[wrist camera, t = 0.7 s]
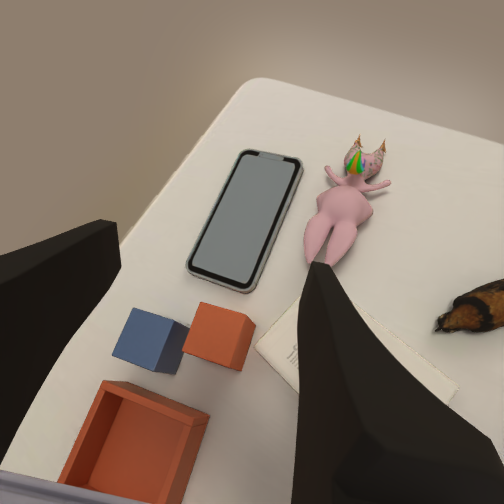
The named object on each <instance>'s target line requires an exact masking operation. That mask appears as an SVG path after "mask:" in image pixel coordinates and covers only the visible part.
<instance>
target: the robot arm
mask: <svg viewBox="0 0 504 504" xmlns="http://www.w3.org/2000/svg"><path fill="white" fill-rule="evenodd" d="M120 269H121V258H120V250H119V241H118V232H117V224H116V222H112V221H106V220H101V219H100V220H96V221H93V222H90V223H87V224H85V225H82V226H79V227H77V228H74V229H72V230H69V231H67V232H64V233H62V234H59V235H57V236H54V237H52V238H49V239H46V240H44V241H41V242H38V243H36V244H33V245H30V246H27V247H24V248H21V249H19V250H16V251H13V252H10V253H7V254H4V255H0V465H1V462H2V460H3V458H4V456H5V454H6V452H7V450H8V448H9V446H10V444H11V442H12V440H13V438H14V436H15V434H16V432H17V430H18V428H19V426H20V424H21V422H22V421H23V419H24V417H25V415H26V413H27V411H28V409H29V408H30V406H31V404H32V402H33V400H34V398H35V396H36V395H37V393H38V391H39V390H40V388H41V386H42V384H43V383H44V381H45V379H46V377H47V376H48V374H49V372H50V371H51V369H52V367H53V366H54V364H55V362H56V361H57V359H58V358H59V356H60V354H61V353H62V351H63V350H64V348H65V346H66V345H67V344H68V342H69V341H70V339H71V338H72V337H73V335H74V334H75V333H76V331H77V330H78V329H79V328H80V326H81V325H82V324H83V322H84V321H85V320H86V319H87V317H88V316H89V315H90V313H91V312H92V311H93V310H94V308H95V307H96V306H97V304H98V303H99V302H100V301H101V299H102V298H103V297H104V295H105V294H106V293H107V291H108V290H109V288H110V287H111V285H112V283H113V282H114V280H115V278H116V276H117V274H118V273H119V271H120ZM297 344H298V368H299V406H298V423H297V437H296V451H295V464H294V476H293V488H292V498H291V504H504V466H503V463H502V461H501V459H500V457H499V455H498V453H497V451H496V449H495V447H494V445H493V443H492V441H491V439H489V438H488V437H487V436H485V435H484V434H483V433H482V432H480V431H479V430H478V429H476V428H475V427H474V426H472V425H471V424H470V423H469V422H467V421H466V420H465V419H463V418H462V417H461V416H460V415H458V414H457V413H456V412H454V411H453V410H452V409H451V408H449V407H448V406H447V405H446V404H445V403H443V402H442V401H441V400H440V399H439V398H438V397H436V396H435V395H434V394H433V393H432V392H431V391H429V390H428V389H427V388H426V387H425V386H424V385H423V384H422V383H421V382H420V381H418V380H417V379H416V378H415V377H414V376H413V375H412V374H411V373H410V372H409V371H408V370H407V369H406V368H405V367H404V366H403V365H402V364H401V363H400V362H399V361H398V360H397V359H396V358H395V357H394V356H393V355H392V354H391V353H390V351H389V350H388V349H387V348H386V347H385V346H384V345H383V343H382V342H381V341H380V340H379V339H378V338H377V337H376V335H375V334H374V333H373V332H372V330H371V329H370V328H369V326H368V325H367V324H366V322H365V321H364V320H363V318H362V317H361V316H360V314H359V313H358V311H357V310H356V308H355V307H354V305H353V304H352V302H351V301H350V299H349V297H348V296H347V294H346V293H345V291H344V289H343V288H342V286H341V284H340V282H339V281H338V279H337V277H336V275H335V274H334V272H333V270H332V268H331V267H330V265H329V264H325V263H320V262H315V261H312V262H311V266H310V269H309V272H308V275H307V279H306V282H305V285H304V288H303V291H302V295H301V298H300V301H299V308H298V320H297ZM0 504H150V503H146V502H141V501H137V500H132V499H128V498H123V497H119V496H115V495H110V494H106V493H101V492H97V491H92V490H88V489H83V488H79V487H75V486H70V485H66V484H61V483H57V482H52V481H48V480H44V479H39V478H35V477H30V476H26V475H21V474H17V473H12V472H8V471H4V470H0Z"/></svg>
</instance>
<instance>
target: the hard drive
mask: <svg viewBox="0 0 504 504" xmlns="http://www.w3.org/2000/svg"><path fill="white" fill-rule="evenodd" d="M301 295H302V294H301ZM301 295H300V296H299V297H298V299H297V300H296V301H295V302H294V303H293V304H292V305H291V306H290V307H289V308H288V309H287V310H286V311H285V313H284V314H283V315H282V316H281V317H280V318H279V319H278V320H277V321H276V322H275V323H274V324H273V326H272V327H271V328H270V329H269V330H268V331H267V332H266V333H265V334H264V335H263V336H262V338H261V339H260V340H259V341H258V342H257V343H256V344H255V346H254V348H255V349H256V351H257V352H258V353H259V354H260V355H261V356H262V357H263V358H264V359H265V360H266V361H267V362H268V363H269V364H270V365H271V366H272V367H273V368H274V369H275V370H276V371H277V372H278V373H279V374H280V375H281V376H282V377H283V378H284V379H285V380H286V382H287V383H288V384H289V385H290V386H291V387H292V388H293V389H294V390H295V391H296V392H297V393H298V394H299V368H298V344H297V320H298V308H299V301H300V298H301ZM350 301H351V300H350ZM351 302H352V301H351ZM352 304H353V305H354V307H355V308H356V310H357V311H358V313H359V314H360V316H361V317H362V318H363V320H364V321H365V322H366V324H367V325H368V326H369V328H370V329H371V330H372V332H373V333H374V334H375V335H376V337H377V338H378V339H379V340H380V341H381V342H382V343H383V345H384V346H385V347H386V348H387V349H388V350H389V351H390V353H391V354H392V355H393V356H394V357H395V358H396V359H397V360H398V361H399V362H400V363H401V364H402V365H403V366H404V367H405V368H406V369H407V370H408V371H409V372H410V373H411V374H412V375H413V376H414V377H415V378H416V379H417V380H418V381H420V382H421V383H422V384H423V385H424V386H425V387H426V388H427V389H428V390H429V391H431V392H432V393H433V394H434V395H435V396H436V397H438V398H439V399H440V400H441V401H442V402H443V403H445V404H446V405H447V404H448V403H449V402H450V400H451V399H452V398H453V396H454V395H455V393H456V392H457V391H458V389H459V388H460V387H459V386H458V385H457V384H456V383H455V382H453V381H452V380H451V379H449V378H448V377H447V376H446V375H444V374H443V373H442V372H441V371H439V370H438V369H437V368H436V367H434V366H433V365H432V364H430V363H429V362H428V361H427V360H425V359H424V358H423V357H422V356H420V355H419V354H418V353H417V352H415V351H414V350H413V349H411V348H410V347H409V346H408V345H406V344H405V343H404V342H403V341H401V340H400V339H399V338H398V337H396V336H395V335H394V334H392V333H391V332H390V331H389V330H387V329H386V328H385V327H384V326H382V325H381V324H380V323H379V322H377V321H376V320H375V319H373V318H372V317H371V316H370V315H368V314H367V313H366V312H365V311H363V310H362V309H361V308H360V307H358V306H357V305H356V304H354V303H353V302H352Z"/></svg>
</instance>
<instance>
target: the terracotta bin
mask: <svg viewBox="0 0 504 504" xmlns="http://www.w3.org/2000/svg"><path fill="white" fill-rule="evenodd" d="M209 417H210V415H208V414H205V413H203V412H200V411H198V410H196V409H193V408H191V407H188V406H186V405H183V404H181V403H178V402H176V401H173V400H171V399H168V398H166V397H163V396H161V395H158V394H156V393H153V392H151V391H149V390H146V389H144V388H141V387H139V386H136V385H134V384H131V383H129V382H121V381H106V380H103V381H102V384H101V386H100V388H99V390H98V392H97V395H96V397H95V399H94V401H93V403H92V406H91V408H90V410H89V412H88V415H87V417H86V419H85V421H84V423H83V426H82V428H81V430H80V432H79V435H78V437H77V439H76V441H75V443H74V446H73V448H72V450H71V452H70V455H69V457H68V459H67V461H66V463H65V466H64V468H63V470H62V472H61V475H60V477H59V479H58V481H57V483H61V484H66V485H70V486H75V487H79V488H83V489H88V490H92V491H97V492H101V493H106V494H110V495H115V496H119V497H123V498H128V499H132V500H137V501H141V502H146V503H150V504H181V502H182V499H183V496H184V493H185V490H186V487H187V484H188V480H189V477H190V474H191V471H192V468H193V465H194V462H195V459H196V456H197V453H198V450H199V447H200V444H201V441H202V438H203V435H204V432H205V429H206V426H207V423H208V420H209Z"/></svg>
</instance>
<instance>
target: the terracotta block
mask: <svg viewBox="0 0 504 504" xmlns="http://www.w3.org/2000/svg"><path fill="white" fill-rule="evenodd" d="M255 326H256V325H255V324H254V323H253V322H252V321H251V320H250V319H249V317H248V316H247V315H245V314H242V313H238V312H235V311H231V310H228V309H224V308H221V307H217V306H214V305H211V304H207V303H204V302H200V304H199V307H198V309H197V312H196V314H195V317H194V320H193V322H192V325H191V328H190V330H189V333H188V335H187V338H186V341H185V343H184V346H183V349H182V352H185V353H188V354H191V355H194V356H196V357H199V358H202V359H205V360H208V361H211V362H214V363H217V364H219V365H222V366H225V367H228V368H231V369H235V370H238V371H242V368H243V365H244V362H245V358H246V355H247V352H248V349H249V346H250V342H251V339H252V336H253V333H254V330H255Z"/></svg>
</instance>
